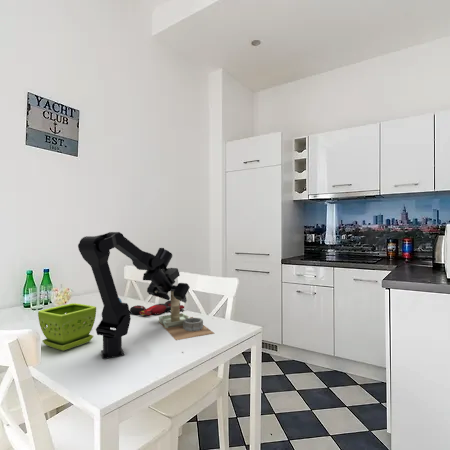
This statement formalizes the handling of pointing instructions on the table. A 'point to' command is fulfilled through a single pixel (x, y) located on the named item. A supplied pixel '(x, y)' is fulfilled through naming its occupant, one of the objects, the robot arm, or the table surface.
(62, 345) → the flower pot
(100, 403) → the table surface
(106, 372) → the table surface
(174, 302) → the dowel
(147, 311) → the toy motorcycle
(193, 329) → the stand
